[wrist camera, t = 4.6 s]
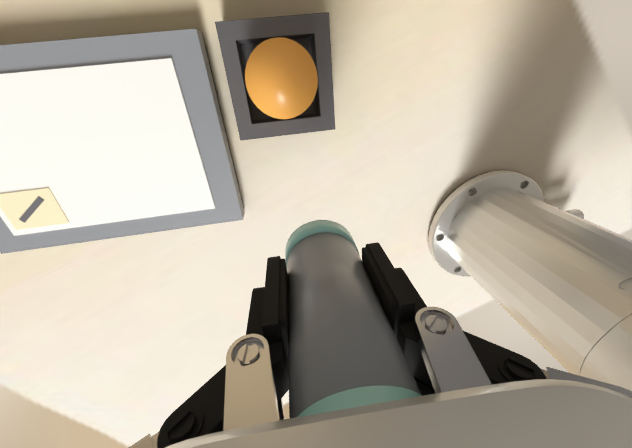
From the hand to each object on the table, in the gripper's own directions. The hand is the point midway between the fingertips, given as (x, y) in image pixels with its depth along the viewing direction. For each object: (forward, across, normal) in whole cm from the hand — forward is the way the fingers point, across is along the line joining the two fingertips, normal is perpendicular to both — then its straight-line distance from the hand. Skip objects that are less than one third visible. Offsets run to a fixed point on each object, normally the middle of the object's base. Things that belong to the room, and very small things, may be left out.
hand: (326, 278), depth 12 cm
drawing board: (+14, +16, -5) cm, 21 cm away
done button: (+11, +1, -8) cm, 14 cm away
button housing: (+14, +1, -8) cm, 16 cm away
